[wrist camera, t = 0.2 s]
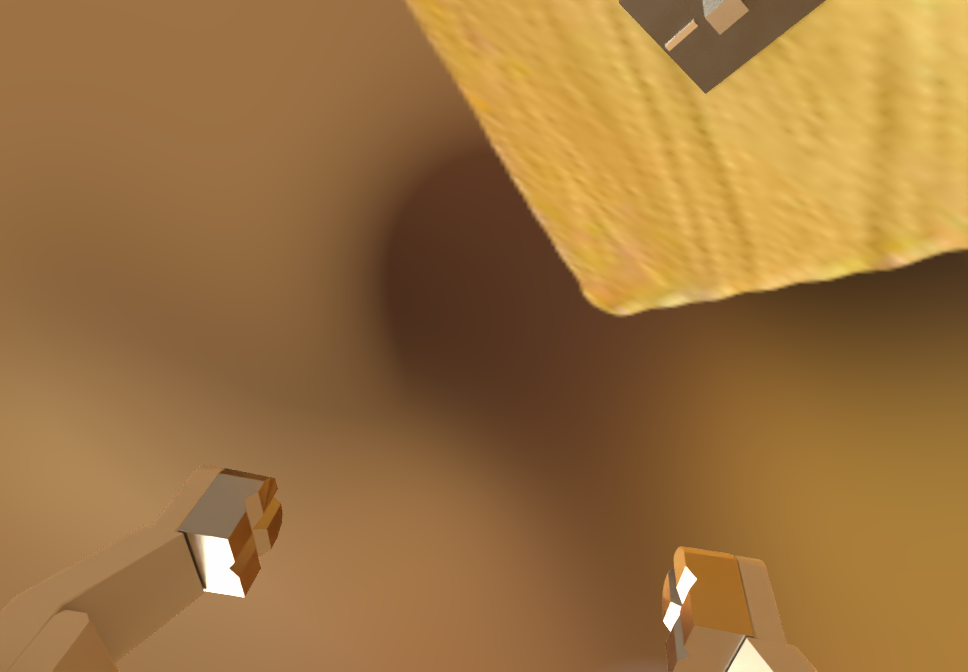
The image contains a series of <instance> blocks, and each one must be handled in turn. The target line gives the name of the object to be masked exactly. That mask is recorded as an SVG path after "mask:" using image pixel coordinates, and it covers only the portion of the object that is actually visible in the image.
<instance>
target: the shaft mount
mask: <svg viewBox="0 0 968 672" xmlns="http://www.w3.org/2000/svg"><path fill="white" fill-rule="evenodd" d="M824 1H825V0H619V3H620V5H621V6H622V7H623V8H624V9H625V10H626V11H627V12H628V13H629V14H630V15H631V16H632V17H633V18H634V19H635V20H636V21H637V22H638V23H639V24H640V26H641V27H642V28H643V29H644V30H645V31H646V32H647V33H648V34H649V35H650V36H651V37H652V38H653V39H654V40H655V41H656V42H657V43H658V44H659V45H660V47H661V48H662V49H663V50H664V51H665V52H666V53H667V54H668V55H669V56H670V57H671V58H672V59H673V60H674V61H675V62H676V63H677V64H678V65H679V66H680V67H681V69H682V70H683V71H684V72H685V73H686V74H687V75H688V76H689V77H690V78H691V79H692V80H693V81H694V82H695V83H696V84H697V85H698V86H699V87H700V88H701V90H702V91H703V92H704V93H705V94H706V93H707V92H709V91H710V90H711V89H712V88H714V87H715V86H716V85H718V84H719V83H720V82H721V81H723V80H724V79H725V78H726V77H728V76H729V75H730V74H732V73H733V72H734V71H735V70H737V69H738V68H739V67H741V66H742V65H743V64H744V63H746V62H747V61H748V60H750V59H751V58H752V57H753V56H755V55H756V54H757V53H758V52H760V51H761V50H762V49H764V48H765V47H766V46H767V45H769V44H770V43H771V42H773V41H774V40H775V39H776V38H778V37H779V36H780V35H782V34H783V33H784V32H785V31H787V30H788V29H789V28H791V27H792V26H793V25H794V24H796V23H797V22H798V21H799V20H801V19H802V18H803V17H805V16H806V15H807V14H808V13H810V12H811V11H812V10H814V9H815V8H816V7H817V6H819V5H820V4H821V3H823V2H824Z"/></svg>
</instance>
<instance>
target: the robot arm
mask: <svg viewBox="0 0 968 672" xmlns="http://www.w3.org/2000/svg"><path fill="white" fill-rule="evenodd" d="M277 490H278V487H277V484H276V479H275V478H272V477H267V476H262V475H257V474H252V473H247V472H242V471H237V470H232V469H228V468H222V467H216V466H211V465H205V464H203V465H202V466H200V467H198V468H197V469H196V470H195V471H194V472H193V473H192V475H191V476H190V477H189V478H188V480H187V481H186V482H185V483H184V485H183V486H182V487H181V489H180V490H179V491H178V492H177V494H176V495H175V496H174V498H173V499H172V500H171V501H170V503H169V504H168V505H167V507H166V508H165V509H164V511H163V512H162V513H161V514H160V515H159V517H158V518H157V519H156V521H155V522H154V523H153V525H152V526H151V527H149V526H143V527H141V528H139V529H137V530H135V531H133V532H132V533H130V534H128V535H126V536H124V537H122V538H121V539H119V540H117V541H115V542H113V543H111V544H110V545H108V546H106V547H104V548H103V549H100V550H99V551H97V552H95V553H93V554H91V555H89V556H88V557H86V558H84V559H82V560H80V561H79V562H77V563H75V564H73V565H71V566H69V567H67V568H66V569H64V570H62V571H60V572H58V573H56V574H55V575H53V576H51V577H49V578H47V579H46V580H44V581H42V582H40V583H38V584H37V585H35V586H33V587H31V588H29V589H27V590H25V591H24V592H22V593H20V594H18V595H16V596H15V597H14V598H13V599H12V600H11V601H10V602H9V603H8V604H7V605H6V606H5V608H4V609H3V610H2V611H1V612H0V672H120V670H119V669H118V667H117V665H116V662H117V661H119V660H120V659H121V658H123V657H124V656H125V655H126V654H127V653H129V652H130V651H131V650H133V649H134V648H135V647H137V646H138V645H139V644H140V643H142V642H143V641H144V640H145V639H147V638H148V637H149V636H151V635H152V634H153V633H154V632H156V631H157V630H158V629H159V628H161V627H162V626H163V625H165V624H166V623H167V622H168V621H170V620H171V619H172V618H173V617H175V616H176V615H177V614H179V613H180V612H181V611H182V610H184V609H185V608H186V607H187V606H189V605H190V604H191V603H192V602H194V601H195V600H196V599H198V598H199V597H200V596H201V595H203V594H204V591H209V592H216V593H221V594H227V595H234V596H241V597H245V596H246V594H247V592H248V591H249V588H250V587H251V585H252V583H253V582H254V580H255V578H256V576H257V574H258V573H259V571H260V569H261V566H260V561H259V557H260V556H261V555H263V554H264V553H266V552H268V551H269V550H271V549H272V547H273V545H274V543H275V541H276V539H277V537H278V534H279V531H280V527H281V524H282V507H281V503H280V502H279V501H278V500H277V499H276V498H275V497H274V495H275V493H276V492H277ZM673 559H674V569H672V570H671V571H669V572H668V573H667V576H666V579H665V582H664V589H663V595H662V611H663V622H664V623H665V624H666V626H667V627H668V629H669V630H670V631H671V632H670V634H669V637H668V639H667V642H666V655H667V665H668V672H818V671H817V670H816V669H815V668H814V667H813V665H812V664H811V663H810V662H809V661H808V660H807V658H805V656H804V655H803V654H802V653H801V652H800V650H799V649H798V648H797V647H796V646H793V645H789V644H787V642H786V638H785V634H784V631H783V627H782V623H781V620H780V616H779V612H778V608H777V605H776V602H775V598H774V594H773V590H772V587H771V583H770V580H769V576H768V572H767V568H766V565H765V564H764V563H763V561H762V560H759V559H753V558H747V557H741V556H735V555H732V554H727V553H720V552H714V551H707V550H701V549H695V548H688V547H682V546H680V547H679V548H678V549H677V550H676V552H675V555H674V557H673Z"/></svg>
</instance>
